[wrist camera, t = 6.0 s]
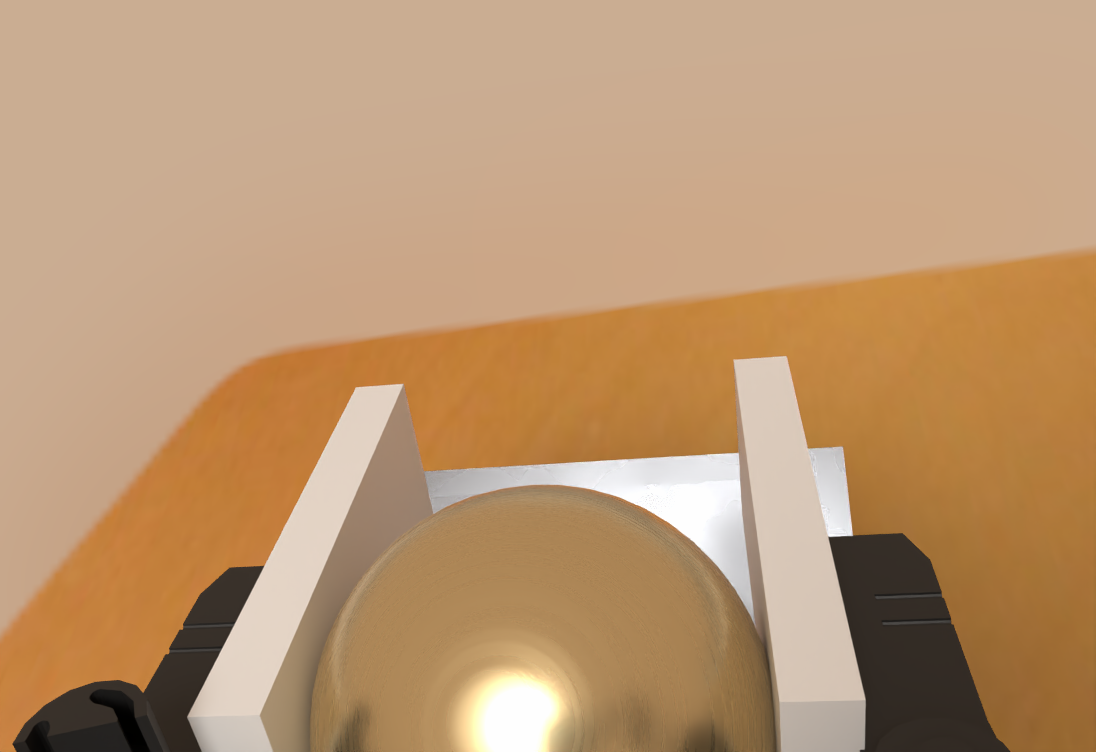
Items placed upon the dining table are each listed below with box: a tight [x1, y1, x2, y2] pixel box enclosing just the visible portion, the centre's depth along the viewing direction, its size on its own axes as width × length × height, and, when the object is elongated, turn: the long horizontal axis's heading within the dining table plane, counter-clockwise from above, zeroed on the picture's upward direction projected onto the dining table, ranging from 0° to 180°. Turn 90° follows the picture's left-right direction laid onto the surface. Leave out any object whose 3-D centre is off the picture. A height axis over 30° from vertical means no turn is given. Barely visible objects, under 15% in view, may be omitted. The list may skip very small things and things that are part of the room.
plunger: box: [310, 485, 776, 752], centre depth 19 cm, size 8×8×22 cm
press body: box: [424, 447, 853, 625], centre depth 29 cm, size 15×10×14 cm
